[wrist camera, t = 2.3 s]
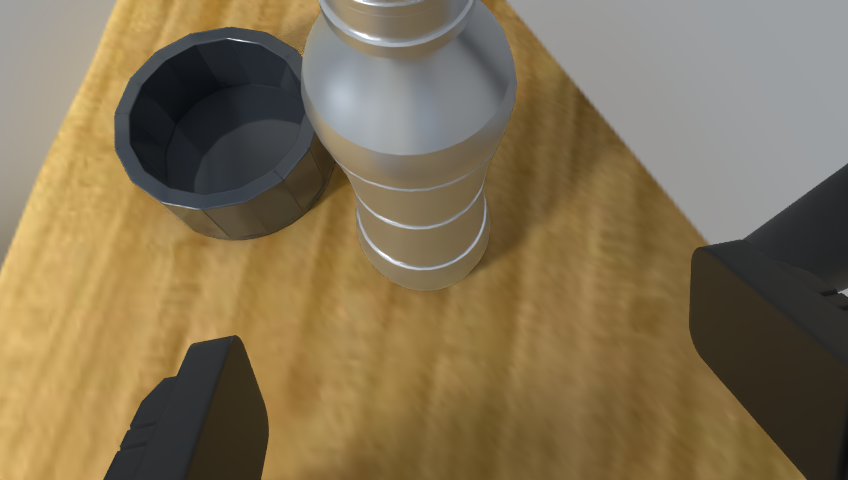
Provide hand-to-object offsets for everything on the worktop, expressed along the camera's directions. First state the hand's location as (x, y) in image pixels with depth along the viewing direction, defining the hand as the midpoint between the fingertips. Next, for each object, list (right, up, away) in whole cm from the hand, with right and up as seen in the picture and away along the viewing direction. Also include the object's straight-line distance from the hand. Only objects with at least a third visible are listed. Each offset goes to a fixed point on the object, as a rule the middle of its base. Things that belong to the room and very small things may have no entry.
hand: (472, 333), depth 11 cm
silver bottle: (-1, +2, +21) cm, 21 cm away
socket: (-11, +6, +23) cm, 26 cm away
